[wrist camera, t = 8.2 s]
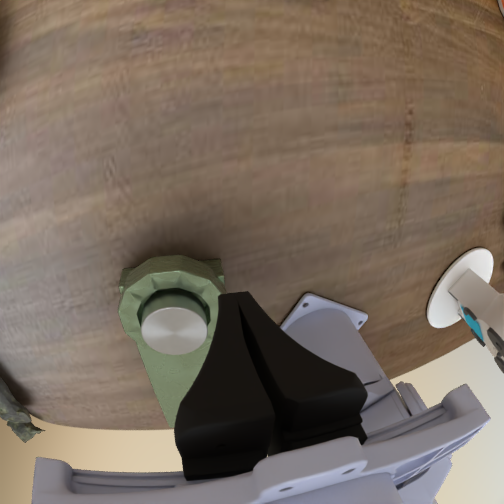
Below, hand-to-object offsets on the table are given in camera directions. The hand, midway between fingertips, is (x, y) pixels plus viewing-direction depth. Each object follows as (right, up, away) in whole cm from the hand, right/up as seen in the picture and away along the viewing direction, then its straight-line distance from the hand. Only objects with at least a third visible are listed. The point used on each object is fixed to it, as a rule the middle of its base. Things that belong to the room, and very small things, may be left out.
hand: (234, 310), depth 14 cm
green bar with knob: (-5, -6, +12) cm, 15 cm away
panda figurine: (+25, -2, +17) cm, 31 cm away
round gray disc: (-4, -1, +5) cm, 7 cm away
